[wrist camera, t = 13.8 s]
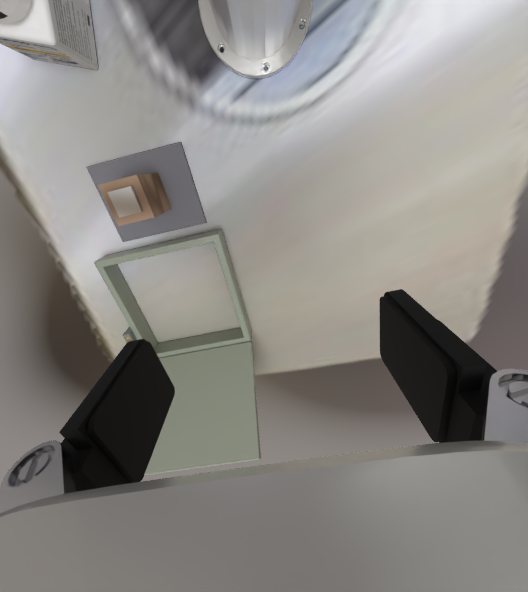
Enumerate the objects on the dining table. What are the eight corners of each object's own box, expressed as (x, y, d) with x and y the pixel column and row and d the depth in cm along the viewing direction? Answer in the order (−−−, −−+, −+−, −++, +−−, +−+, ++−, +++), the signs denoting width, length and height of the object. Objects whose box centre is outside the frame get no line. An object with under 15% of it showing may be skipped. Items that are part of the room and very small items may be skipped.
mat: (88, 166, 36) (86, 166, 35) (181, 142, 34) (180, 141, 34) (124, 241, 41) (123, 242, 40) (206, 222, 39) (206, 222, 39)
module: (126, 181, 36) (95, 185, 30) (158, 173, 36) (134, 174, 29) (141, 216, 39) (116, 227, 32) (172, 208, 38) (152, 218, 31)
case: (99, 256, 42) (-21, 324, 24) (221, 228, 40) (189, 280, 22) (166, 379, 55) (121, 482, 37) (261, 362, 53) (260, 462, 35)
